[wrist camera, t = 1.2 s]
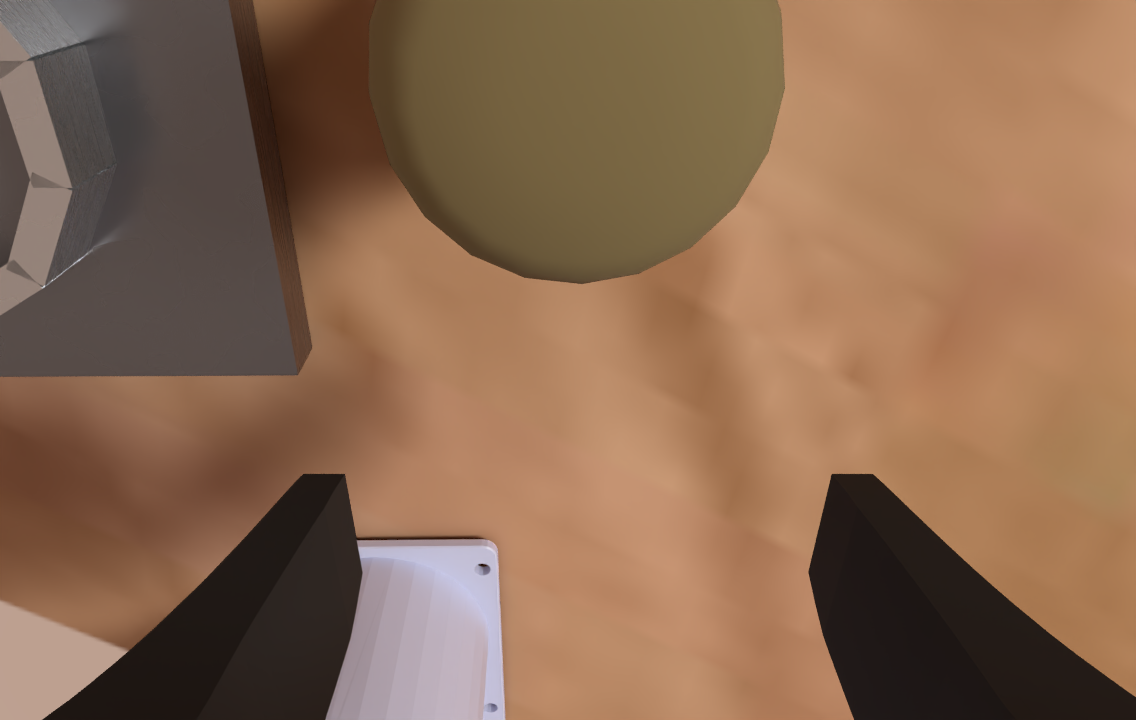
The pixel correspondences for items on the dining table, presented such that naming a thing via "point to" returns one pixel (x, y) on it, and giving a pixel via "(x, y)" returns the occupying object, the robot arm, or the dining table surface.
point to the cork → (576, 123)
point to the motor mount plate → (142, 194)
